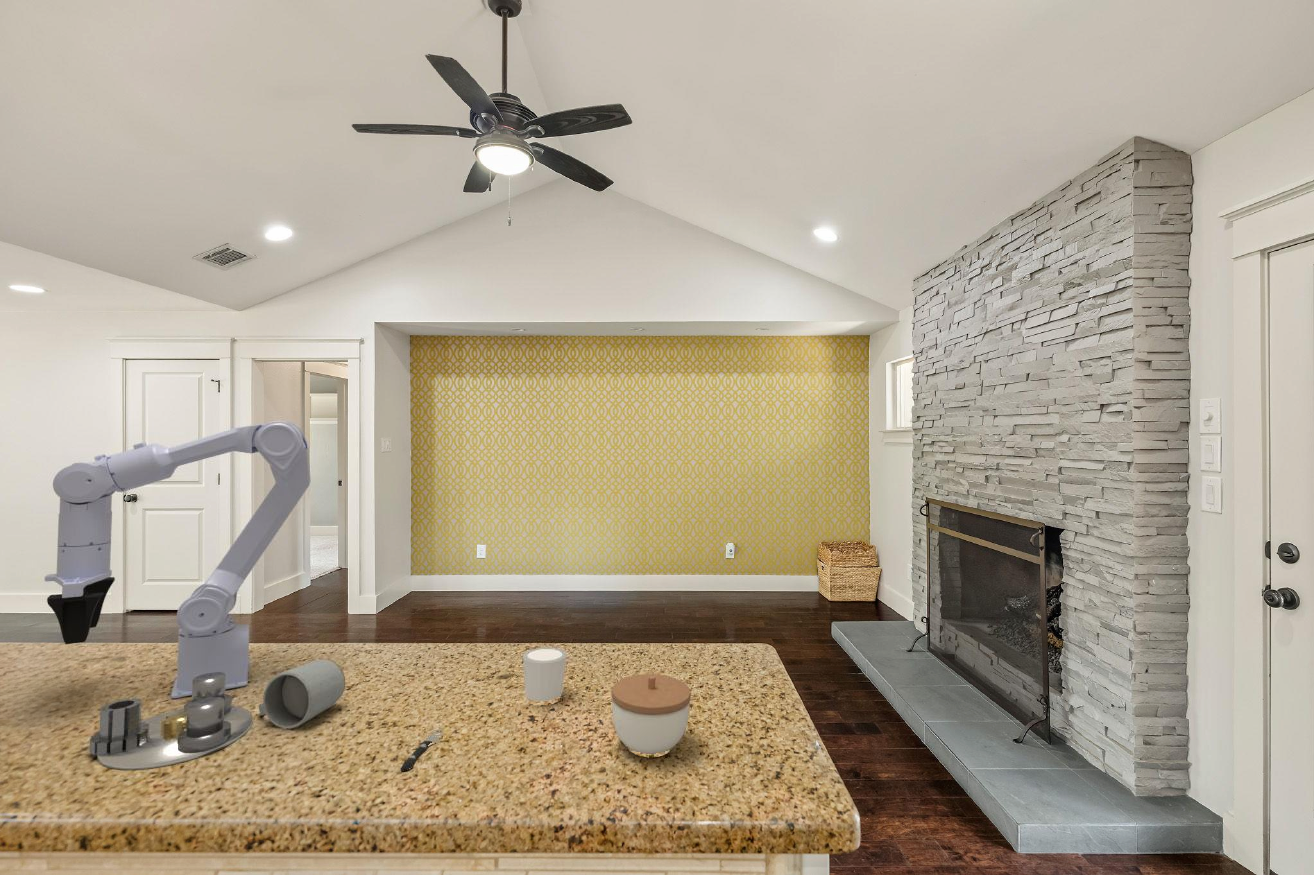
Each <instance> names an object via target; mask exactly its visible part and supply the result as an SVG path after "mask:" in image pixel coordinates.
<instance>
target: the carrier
mask: <svg viewBox="0 0 1314 875" xmlns="http://www.w3.org/2000/svg"><path fill="white" fill-rule="evenodd" d="M225 682H226V674H225V673H222V672H213V673H207V674H203V675H200V676H197V677H195V678H194V679H193V680H192V695H191V700H189V701H187V702H186V703H185V704H184V705H183V708H181V709H175V710H172V711H168V712H164V713H160V714H157V715H154V716H150V717H147V718H144V719H141V722H142V723H143V722H145V723H147V724H149V737H148V740H146V742H145V743H143V744H142V745H140V746H137V748H134V749H131V750H129V751H124V750H123V751H122V753H118V754H113V755H110V754H108V755H106V756H97V755H96V756H97V762H99V764H100V765H102V766H103V767H107V768H109V769H114V770H123V771H130V770H131V771H134V770H135V771H136V770H138V771H139V770H149V769H157V768H163V767H167V766H172V765H177V764H178V765H179V764H181V763H186V762H188V761H192V760H195V759H199V758H201V757H204V756H207V755H209V754H212V753H215V752H217V751H219V750H221V749H224V748H225V747H228V746H229V745H231V744H233V743H234V742H236V741H238V740H239V739H241V738H242V737H243V736H245V735H246V734H247V733H248V732H249V730H250V729H251V728H252V725H253V722H254V721H253V720H254V718H253V714H252V712H251V711H250V710H248V709H246V708H244V707H240V706H238V705H237V706H236V705H233V696H232V695H231V694H227V693H226V689H225Z"/></svg>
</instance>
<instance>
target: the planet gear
mask: <svg viewBox="0 0 1314 875" xmlns="http://www.w3.org/2000/svg"><path fill="white" fill-rule="evenodd" d="M142 702H143V701H142V699H141V698H135V697H132V698H123V699H118V700H117V701H112V702H111V701H110V702H108V703H106V704H104V705H103V706H101V707H100V709H99V710H100V712H99V731H97V732H95V733H94V734H93V735H91V737H90V739H89V751H88V752H89V754H90V755H93V756H106V755H108V754H110V755H113V754H118V753H122V751H123V750H124V751H129V750H131V749H134V748H137V746H140V745H142V744H143V743H145V742H146V740H148V737H149V724H147V723H145V722H143V723H142V722H141V720H142Z"/></svg>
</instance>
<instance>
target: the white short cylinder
mask: <svg viewBox="0 0 1314 875" xmlns="http://www.w3.org/2000/svg"><path fill="white" fill-rule="evenodd" d="M522 659H523V660H522V661H523V674H524V678H523V679H524V695H525V698H526V697H527V698H528V699H530V700H534V701H539V702H541V701H549V700H553V699H556V698H557V697H560V695H561V694H562V695H563V688H564V680H565V678H564V677H565V674H566V673H565V671H566V664H567V652H566V651H565V650H563V649H561V648H557V647H537V648H532V649H529V650H528V651H526V652H524V653H523V654H522Z"/></svg>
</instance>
